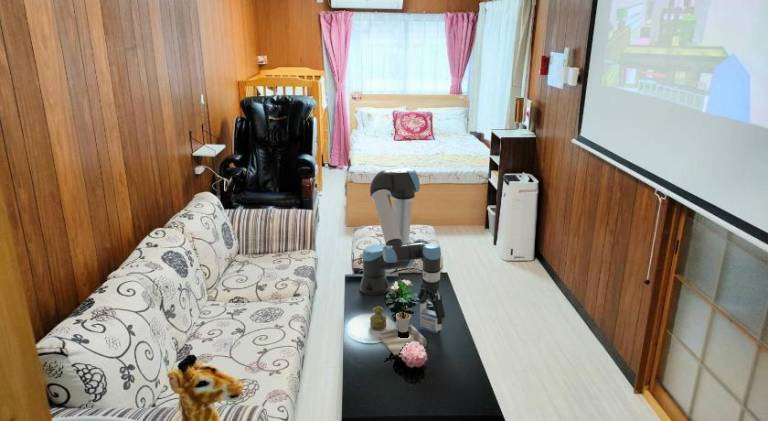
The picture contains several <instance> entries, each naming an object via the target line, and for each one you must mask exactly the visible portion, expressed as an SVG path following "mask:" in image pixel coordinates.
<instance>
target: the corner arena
mask: <svg viewBox="0 0 768 421" xmlns="http://www.w3.org/2000/svg"><path fill="white" fill-rule="evenodd" d="M398 328H399V327H395V328H392V329H388V330H387V329H386V330H381V331H380V333H379V334H380V335H379V336H380V337H379V338H380V341H381V342H382V343H383V345H385V346H386V348H387V349H388V350H389V351H390V352H391V353H392V354H393V355H394V356H398V355H400V354H399V353H400V350H401V349H402V347H403V346H404V345H405V344H406V343H407V342H410V341H418V342H420V343H421V344H422V345H423V346H425V348H427V347H428V346H427V344H428V343H427V341H428V339H427V338H426V337H425V336H424V335H423V334H421V333H420V331H418V330H417V328H416V327H414V325H412V324H408V330H409V337H408V338H400V337H398Z"/></svg>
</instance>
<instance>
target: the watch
mask: <svg viewBox="0 0 768 421" xmlns="http://www.w3.org/2000/svg"><path fill="white" fill-rule="evenodd" d="M437 293H438V295H440V293H439V292H438V290H437ZM425 303H426V309H427V310H432V311H435V310H434V307H433V304H432V303H431V301H430V300H428V299H427V300H426V302H425Z"/></svg>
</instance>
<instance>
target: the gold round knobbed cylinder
mask: <svg viewBox="0 0 768 421" xmlns="http://www.w3.org/2000/svg"><path fill="white" fill-rule="evenodd" d="M384 310H385V308H384V307H382V306H379V305H378V306H374V307H373V308H372V312H374V314H373V315H371V316H370V318H369V320H370V321H369V326H370V329H371V330H373V331H380V332H381V331H385V329H386V328H387V316H386V315H384V314H383V312H384Z"/></svg>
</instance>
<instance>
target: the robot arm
mask: <svg viewBox="0 0 768 421" xmlns="http://www.w3.org/2000/svg"><path fill="white" fill-rule="evenodd" d="M420 187H421V185H420V178H419V174H418V173H417V171H416V170H415V169H414V168H399V169H397V168H396V169H385V170H381V171H380V172H378V173H376V175H374V177H373V179H372V180H371V183H370V188H369V195H370V199H371V200H372V201H373V202H374V206H375V209H376V213H377V217H378V221H379V224H380V229H381V233H382V235H383V236H382V237H383V240H384V244H385V245H384V244H378V243H375V244H371V245H368V246H366V247H365V248H364V249H363V251H362V257H361V259H362V278H361V281H360V284H359V290H360V292H361V293H362V294H364V295H367V296H382V295H383V294H387V293H388V292H389V291H390V284H389V281H388V279H387V275H386V271H389V270H390V271H391V270H398V269H406V268H411V267H412V266H414V263H415V261H416V260H421V262H422V284H421V285H420V290H419V291H418V292H419V293H418V296H417V298H419V299H420V301H419V300H418V302H419V318H421V312H422V311H423V310H424V309H427V308H426V300H428V299H429V301H431V303H432V304H433V307H434V310H435V313H436V316H437V317H435V331H438V330H439V331H442V325H443V324H442V323H443V318H446V313H445V309H444V304H443V298H442V296H443V295H442V294H440V293H439V292H438V293H439V295H438V293H437V291H438V290H439V289H440V287H441V280H440V279H441V259H442V258H441V255H442V251H441V250H442V249H441V246H440V244H436V243H433V242H432V243H431V242H430V243H429V242H428V241H427V240H425V239H421V238H418V239H417V240H415V241H414V242H411V241H410V233H411V232H410V231H411V230H410V229H411V212H412V201H413V199H414V198H415V196H416V193H418V192H419V191H420ZM391 197H392V199H393V202H392V199H391ZM387 291H388V292H387ZM439 331H438V332H439Z"/></svg>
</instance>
